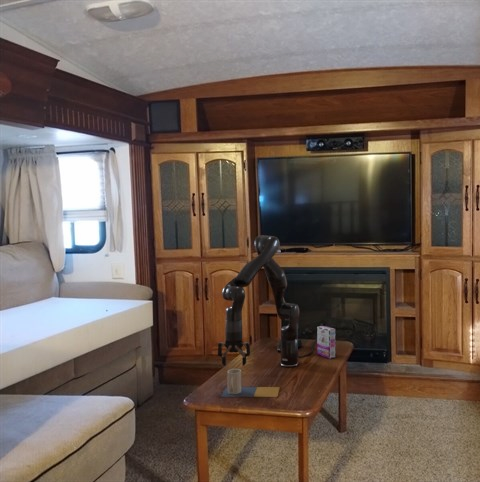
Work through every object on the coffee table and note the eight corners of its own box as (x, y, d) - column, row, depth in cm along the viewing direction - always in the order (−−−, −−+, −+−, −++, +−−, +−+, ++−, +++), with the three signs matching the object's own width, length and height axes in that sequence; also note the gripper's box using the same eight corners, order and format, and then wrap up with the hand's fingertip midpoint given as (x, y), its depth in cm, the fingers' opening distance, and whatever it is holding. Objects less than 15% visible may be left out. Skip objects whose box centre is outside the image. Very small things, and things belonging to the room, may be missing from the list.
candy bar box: (336, 357, 247) (336, 328, 247) (329, 359, 244) (329, 330, 243) (323, 352, 256) (323, 325, 255) (316, 354, 253) (316, 326, 252)
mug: (229, 389, 200) (229, 368, 200) (242, 389, 200) (242, 368, 200) (224, 397, 191) (224, 375, 191) (238, 397, 191) (238, 375, 191)
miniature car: (303, 346, 270) (303, 333, 269) (289, 354, 253) (289, 340, 253) (290, 344, 273) (290, 331, 273) (275, 352, 257) (275, 339, 256)
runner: (226, 387, 203) (226, 387, 203) (279, 387, 203) (279, 387, 203) (220, 397, 192) (220, 396, 192) (277, 397, 192) (277, 396, 192)
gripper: (251, 327, 200) (251, 362, 200) (220, 327, 200) (220, 362, 200) (248, 331, 192) (248, 368, 193) (216, 331, 192) (216, 367, 193)
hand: (234, 365), depth 197 cm, fingers open, 8 cm apart
